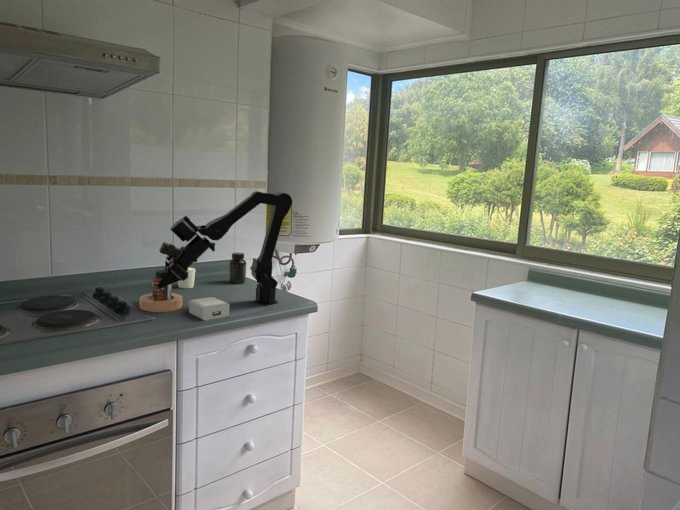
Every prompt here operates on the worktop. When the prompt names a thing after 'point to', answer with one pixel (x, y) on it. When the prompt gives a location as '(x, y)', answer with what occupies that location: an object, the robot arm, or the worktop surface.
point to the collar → (160, 303)
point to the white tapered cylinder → (188, 279)
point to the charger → (208, 308)
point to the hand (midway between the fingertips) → (157, 284)
